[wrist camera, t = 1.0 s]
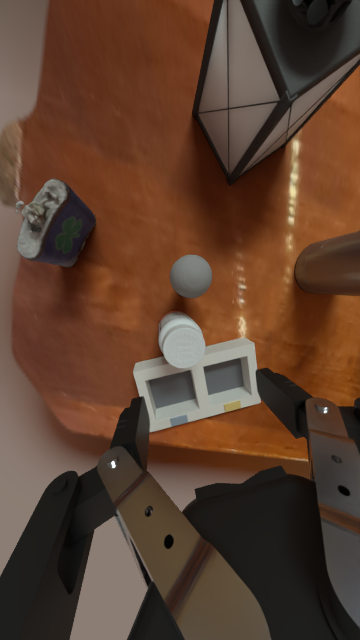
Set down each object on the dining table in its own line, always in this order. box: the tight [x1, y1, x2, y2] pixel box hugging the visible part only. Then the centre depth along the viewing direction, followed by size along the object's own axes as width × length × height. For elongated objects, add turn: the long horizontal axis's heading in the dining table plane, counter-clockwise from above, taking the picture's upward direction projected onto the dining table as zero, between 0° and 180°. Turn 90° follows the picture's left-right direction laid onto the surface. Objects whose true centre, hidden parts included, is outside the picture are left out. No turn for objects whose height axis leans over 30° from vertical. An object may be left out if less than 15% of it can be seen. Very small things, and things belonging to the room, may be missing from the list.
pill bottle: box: [158, 311, 205, 369], centre depth 26 cm, size 6×6×11 cm
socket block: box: [133, 337, 261, 432], centre depth 32 cm, size 21×12×4 cm, turn 101°
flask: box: [15, 179, 96, 267], centre depth 22 cm, size 9×3×11 cm, turn 148°
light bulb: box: [170, 255, 212, 298], centre depth 25 cm, size 6×6×10 cm
